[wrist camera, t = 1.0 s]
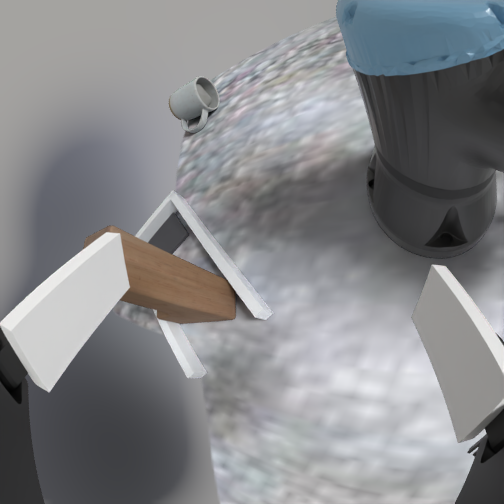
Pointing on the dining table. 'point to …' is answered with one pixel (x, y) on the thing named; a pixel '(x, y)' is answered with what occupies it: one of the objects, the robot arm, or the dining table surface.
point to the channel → (174, 233)
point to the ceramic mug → (194, 102)
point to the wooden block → (171, 283)
